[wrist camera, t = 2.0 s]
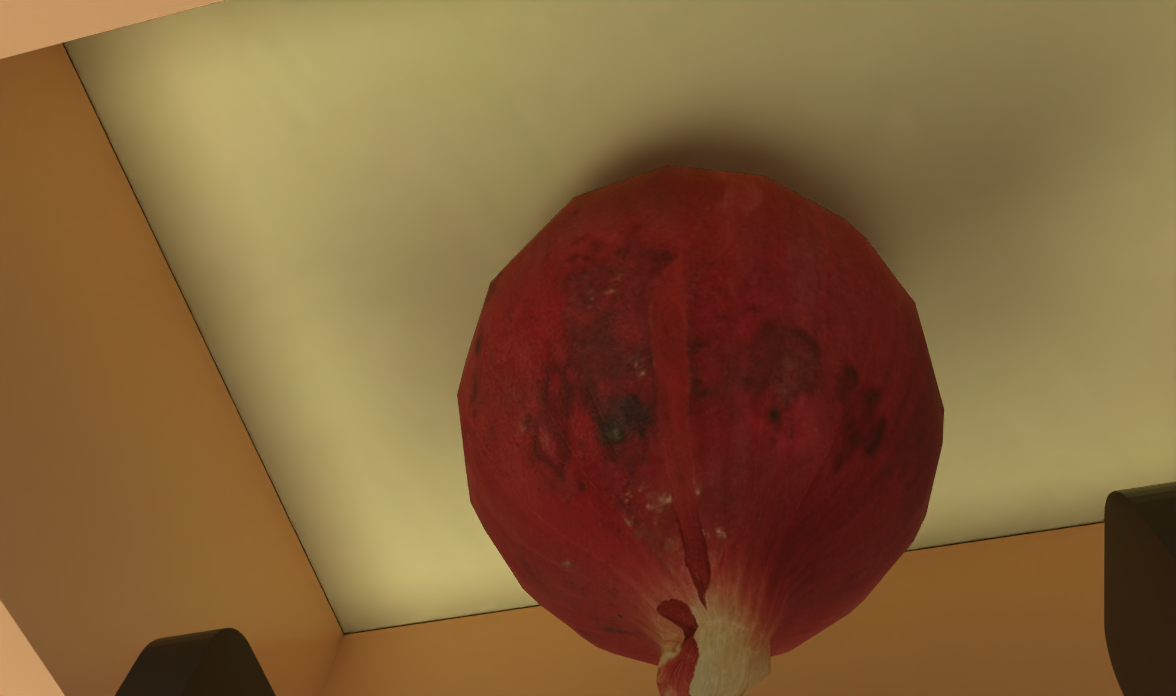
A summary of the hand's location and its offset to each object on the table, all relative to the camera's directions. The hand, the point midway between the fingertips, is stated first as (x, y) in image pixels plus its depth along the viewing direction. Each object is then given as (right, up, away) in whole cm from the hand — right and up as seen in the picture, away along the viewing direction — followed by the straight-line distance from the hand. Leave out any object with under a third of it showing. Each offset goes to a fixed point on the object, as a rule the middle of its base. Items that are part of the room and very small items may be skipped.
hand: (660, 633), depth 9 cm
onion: (+1, +4, +7) cm, 8 cm away
